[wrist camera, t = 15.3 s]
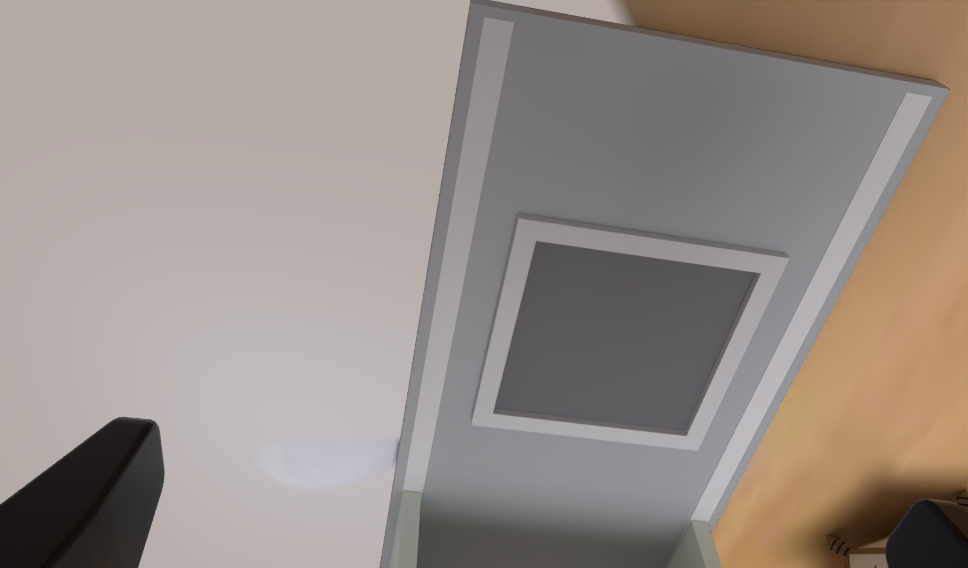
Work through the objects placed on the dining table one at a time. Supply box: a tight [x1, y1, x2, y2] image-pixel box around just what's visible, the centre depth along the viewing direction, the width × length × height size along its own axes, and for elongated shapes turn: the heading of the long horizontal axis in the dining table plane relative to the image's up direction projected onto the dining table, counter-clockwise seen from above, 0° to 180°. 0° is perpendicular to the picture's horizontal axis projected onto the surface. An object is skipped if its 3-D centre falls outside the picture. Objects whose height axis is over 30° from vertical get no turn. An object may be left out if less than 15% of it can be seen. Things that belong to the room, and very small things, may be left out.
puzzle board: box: [380, 0, 950, 568], centre depth 24 cm, size 12×24×1 cm, turn 170°
